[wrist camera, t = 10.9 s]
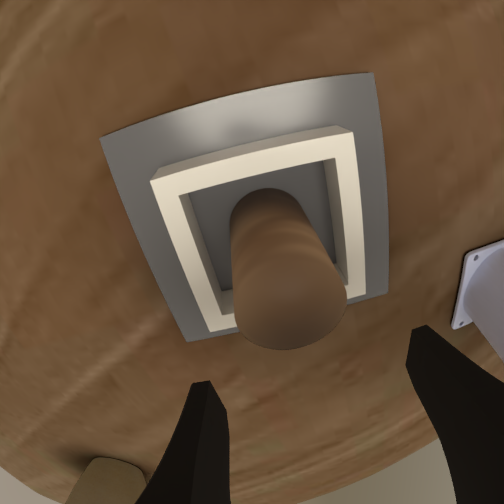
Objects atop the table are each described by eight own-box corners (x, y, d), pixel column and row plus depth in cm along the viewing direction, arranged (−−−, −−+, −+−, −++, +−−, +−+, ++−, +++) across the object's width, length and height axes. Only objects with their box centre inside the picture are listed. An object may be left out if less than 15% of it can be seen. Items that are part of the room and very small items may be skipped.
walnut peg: (298, 180, 16) (344, 249, 10) (308, 247, 18) (348, 335, 12) (221, 198, 16) (220, 277, 10) (239, 263, 18) (248, 358, 12)
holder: (368, 72, 14) (394, 72, 11) (384, 287, 21) (401, 313, 18) (103, 136, 14) (81, 147, 12) (187, 336, 21) (184, 366, 19)
